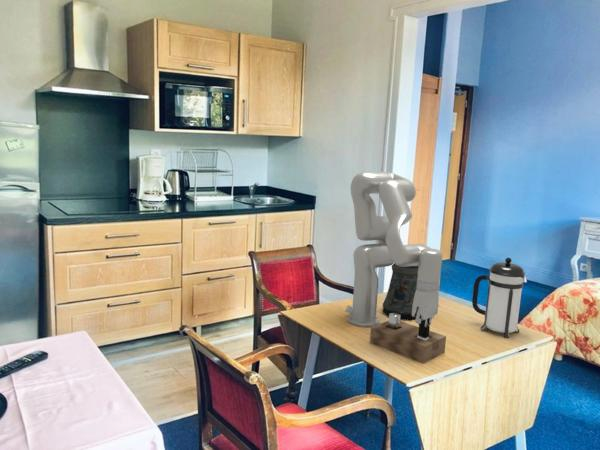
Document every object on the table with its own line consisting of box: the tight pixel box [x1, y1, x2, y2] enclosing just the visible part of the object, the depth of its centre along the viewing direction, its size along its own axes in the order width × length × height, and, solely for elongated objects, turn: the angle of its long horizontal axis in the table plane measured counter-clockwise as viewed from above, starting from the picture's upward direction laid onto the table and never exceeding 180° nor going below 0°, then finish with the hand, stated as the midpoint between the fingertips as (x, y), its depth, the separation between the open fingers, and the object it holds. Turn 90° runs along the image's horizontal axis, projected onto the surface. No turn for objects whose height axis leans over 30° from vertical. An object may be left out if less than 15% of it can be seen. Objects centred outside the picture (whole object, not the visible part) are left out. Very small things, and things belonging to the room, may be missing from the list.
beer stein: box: [382, 263, 418, 321], centre depth 217 cm, size 16×19×25 cm
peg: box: [388, 313, 401, 330], centre depth 185 cm, size 4×4×6 cm
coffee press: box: [471, 257, 527, 339], centre depth 201 cm, size 17×16×30 cm
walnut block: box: [369, 320, 447, 365], centre depth 181 cm, size 22×14×6 cm, turn 46°
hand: (423, 336), depth 177 cm, fingers closed
